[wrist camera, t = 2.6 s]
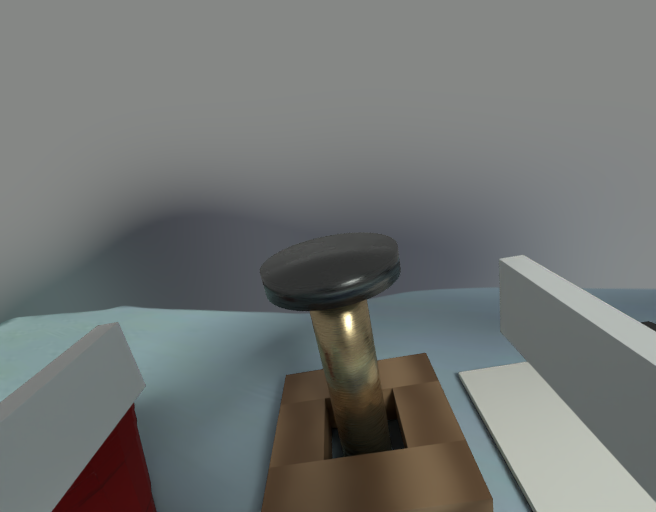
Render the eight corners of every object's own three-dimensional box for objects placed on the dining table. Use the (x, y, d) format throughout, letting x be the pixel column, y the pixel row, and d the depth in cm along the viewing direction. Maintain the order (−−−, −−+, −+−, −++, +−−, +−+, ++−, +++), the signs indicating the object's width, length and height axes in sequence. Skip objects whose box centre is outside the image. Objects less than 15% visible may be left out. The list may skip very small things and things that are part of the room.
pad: (603, 354, 32) (603, 349, 32) (792, 502, 19) (794, 494, 19) (459, 377, 33) (458, 372, 33) (544, 532, 20) (544, 525, 20)
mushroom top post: (410, 404, 31) (385, 225, 26) (440, 501, 23) (413, 267, 17) (316, 418, 32) (272, 246, 26) (312, 518, 23) (245, 296, 18)
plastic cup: (136, 464, 31) (80, 357, 27) (221, 502, 26) (168, 377, 22) (-13, 610, 22) (-127, 481, 18) (74, 712, 17) (-59, 562, 13)
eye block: (429, 381, 34) (425, 352, 32) (494, 538, 20) (492, 498, 19) (293, 402, 34) (285, 375, 33) (272, 565, 21) (258, 529, 20)
